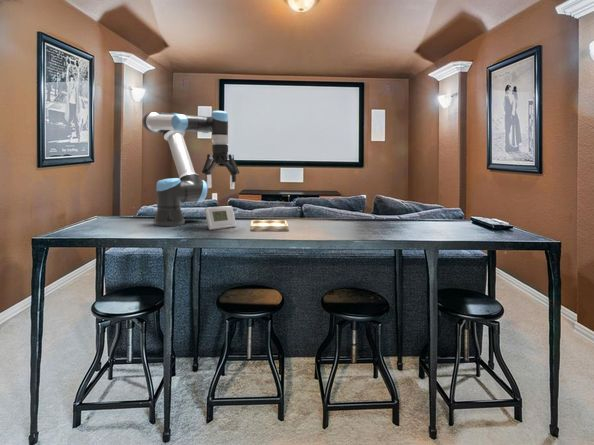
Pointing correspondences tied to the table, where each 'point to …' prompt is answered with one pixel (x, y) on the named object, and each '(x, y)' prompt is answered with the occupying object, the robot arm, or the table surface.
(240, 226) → the table surface
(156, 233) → the table surface
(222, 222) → the digital clock
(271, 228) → the birch tray
